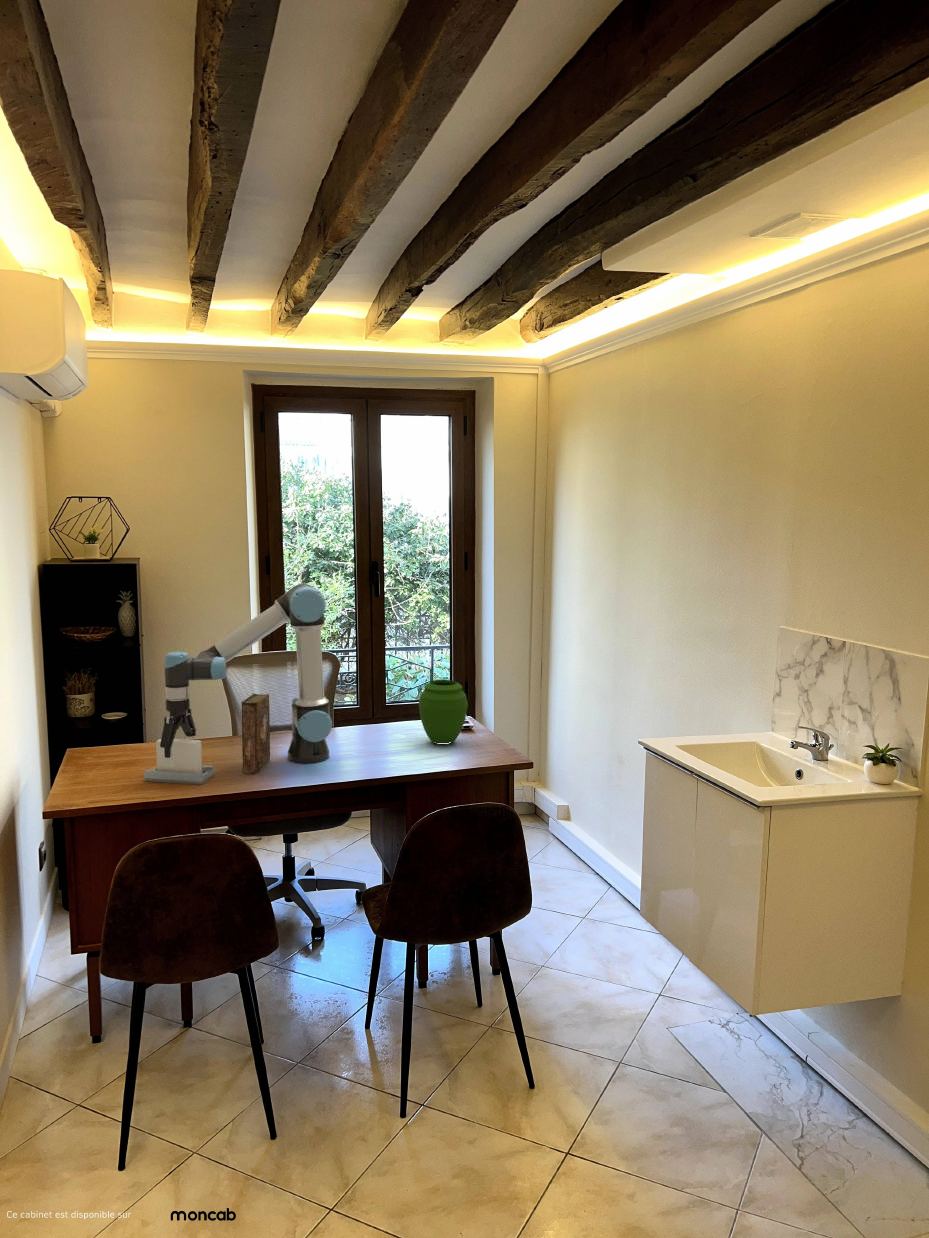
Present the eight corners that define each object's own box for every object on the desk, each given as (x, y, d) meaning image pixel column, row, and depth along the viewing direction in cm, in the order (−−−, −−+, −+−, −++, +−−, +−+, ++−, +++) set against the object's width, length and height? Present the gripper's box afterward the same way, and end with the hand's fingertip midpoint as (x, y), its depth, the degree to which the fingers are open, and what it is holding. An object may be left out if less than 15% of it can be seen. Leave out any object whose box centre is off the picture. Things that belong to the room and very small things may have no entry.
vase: (416, 736, 333) (417, 677, 330) (464, 735, 335) (465, 677, 332) (419, 749, 314) (420, 687, 311) (469, 749, 316) (470, 687, 313)
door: (202, 774, 276) (201, 739, 275) (196, 778, 272) (195, 743, 271) (164, 771, 278) (163, 737, 277) (157, 775, 274) (156, 741, 273)
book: (257, 774, 281) (256, 703, 278) (241, 774, 281) (240, 702, 278) (270, 760, 297) (269, 693, 294) (255, 760, 297) (254, 692, 294)
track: (214, 775, 278) (213, 765, 278) (201, 784, 269) (200, 774, 269) (159, 772, 281) (159, 762, 281) (144, 780, 272) (144, 770, 271)
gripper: (185, 690, 284) (186, 749, 287) (147, 706, 260) (149, 771, 263) (205, 691, 283) (206, 751, 286) (169, 707, 259) (171, 772, 262)
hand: (179, 760), depth 274 cm, fingers open, 13 cm apart
